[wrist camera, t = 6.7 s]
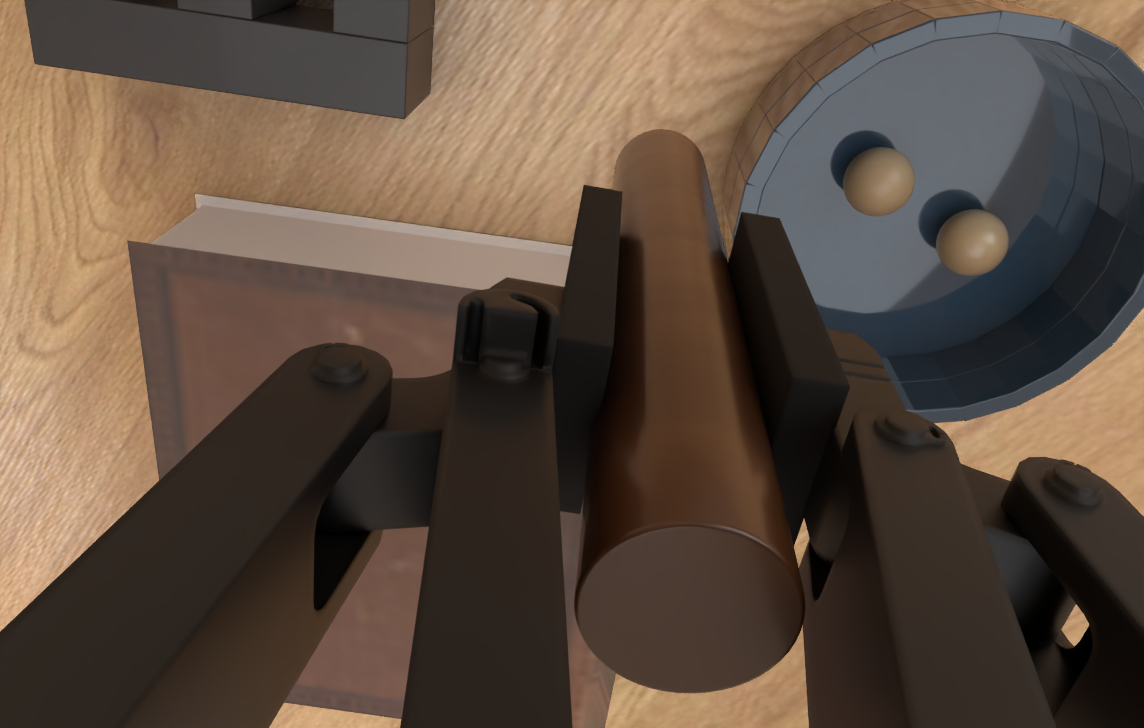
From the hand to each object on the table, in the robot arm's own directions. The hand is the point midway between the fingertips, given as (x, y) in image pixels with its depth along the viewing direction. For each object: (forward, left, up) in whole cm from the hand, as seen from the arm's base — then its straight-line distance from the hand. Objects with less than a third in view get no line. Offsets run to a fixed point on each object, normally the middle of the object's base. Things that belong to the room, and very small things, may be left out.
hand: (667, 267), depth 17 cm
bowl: (+5, +13, -25) cm, 28 cm away
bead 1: (+3, +11, -22) cm, 25 cm away
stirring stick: (0, 0, -6) cm, 6 cm away
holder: (-1, -17, -25) cm, 30 cm away
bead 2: (+6, +16, -22) cm, 28 cm away
